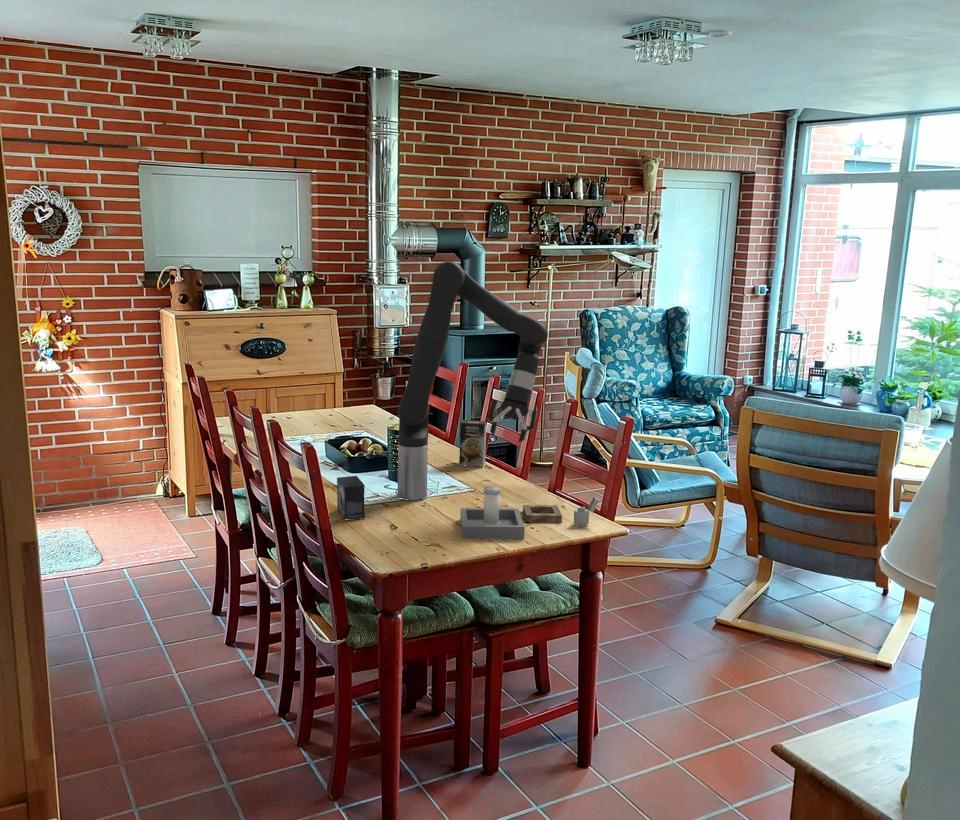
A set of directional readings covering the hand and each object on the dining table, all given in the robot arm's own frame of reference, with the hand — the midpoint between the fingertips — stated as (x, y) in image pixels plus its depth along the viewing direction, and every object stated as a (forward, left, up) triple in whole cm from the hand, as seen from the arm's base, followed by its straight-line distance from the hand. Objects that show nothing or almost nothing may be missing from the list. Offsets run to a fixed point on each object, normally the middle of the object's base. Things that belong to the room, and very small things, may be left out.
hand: (506, 438), depth 267 cm
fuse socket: (+11, -7, -22) cm, 26 cm away
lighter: (+23, -14, -22) cm, 35 cm away
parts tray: (-5, -19, -22) cm, 30 cm away
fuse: (-5, -19, -21) cm, 29 cm away
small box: (-46, -7, -22) cm, 52 cm away
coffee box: (-7, +54, -22) cm, 59 cm away
